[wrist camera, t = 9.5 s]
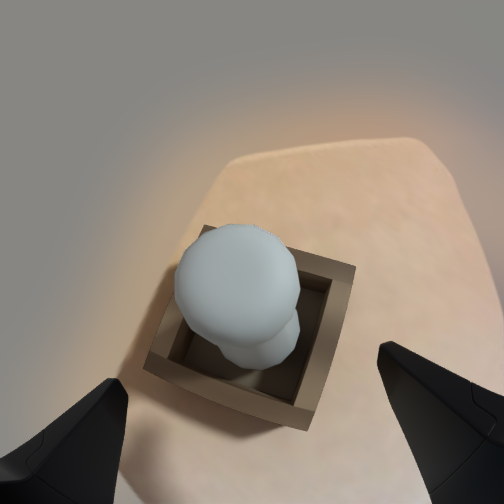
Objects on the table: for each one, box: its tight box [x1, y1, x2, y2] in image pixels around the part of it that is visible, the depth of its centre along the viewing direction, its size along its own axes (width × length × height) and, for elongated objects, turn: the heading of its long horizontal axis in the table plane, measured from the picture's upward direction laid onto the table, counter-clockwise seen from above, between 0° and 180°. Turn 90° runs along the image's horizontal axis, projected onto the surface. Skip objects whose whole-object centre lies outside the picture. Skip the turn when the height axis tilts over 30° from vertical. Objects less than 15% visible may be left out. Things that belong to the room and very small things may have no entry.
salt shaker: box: [174, 224, 300, 370], centre depth 14 cm, size 6×6×13 cm
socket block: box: [143, 225, 356, 431], centre depth 19 cm, size 11×11×4 cm
